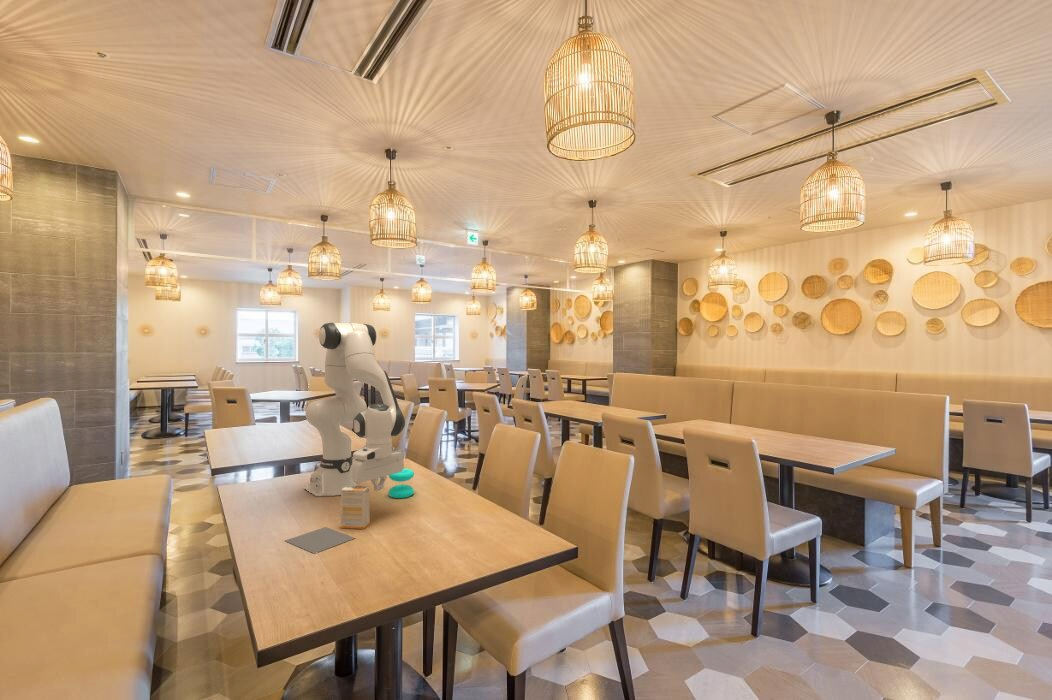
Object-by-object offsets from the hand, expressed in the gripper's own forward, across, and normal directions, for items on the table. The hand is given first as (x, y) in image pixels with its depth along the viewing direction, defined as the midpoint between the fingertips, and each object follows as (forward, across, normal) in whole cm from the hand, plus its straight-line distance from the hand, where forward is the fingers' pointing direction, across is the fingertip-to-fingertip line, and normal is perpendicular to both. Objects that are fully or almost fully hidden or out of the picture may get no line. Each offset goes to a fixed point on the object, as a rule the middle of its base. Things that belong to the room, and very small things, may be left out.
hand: (378, 489), depth 171 cm
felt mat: (+10, +23, +1) cm, 25 cm away
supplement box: (+10, +10, 0) cm, 14 cm away
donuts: (+10, -22, -14) cm, 28 cm away
